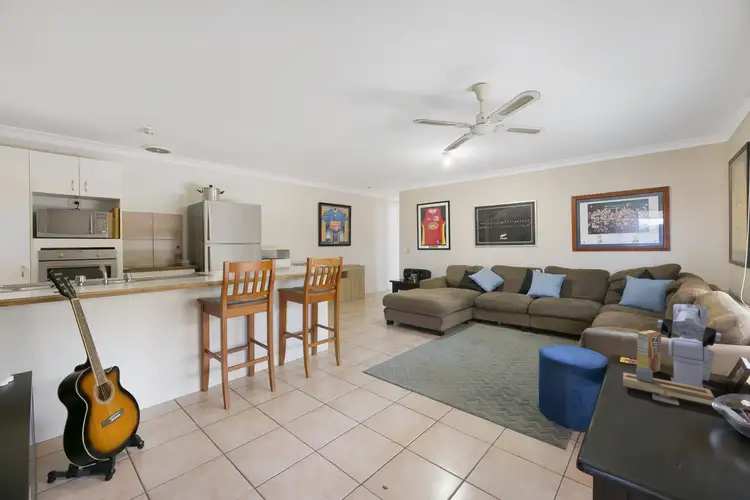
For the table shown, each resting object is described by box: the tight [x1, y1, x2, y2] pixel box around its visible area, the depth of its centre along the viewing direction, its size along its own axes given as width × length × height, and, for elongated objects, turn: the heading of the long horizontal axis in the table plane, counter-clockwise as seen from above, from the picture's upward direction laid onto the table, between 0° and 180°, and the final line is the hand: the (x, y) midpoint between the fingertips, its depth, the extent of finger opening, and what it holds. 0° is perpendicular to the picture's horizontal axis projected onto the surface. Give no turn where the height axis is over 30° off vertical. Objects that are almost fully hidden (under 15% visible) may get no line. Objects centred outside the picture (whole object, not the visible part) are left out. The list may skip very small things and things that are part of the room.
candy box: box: [636, 329, 662, 373], centre depth 125 cm, size 9×4×15 cm, turn 116°
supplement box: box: [702, 349, 716, 382], centre depth 119 cm, size 6×6×12 cm
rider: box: [635, 365, 654, 383], centre depth 106 cm, size 5×4×4 cm
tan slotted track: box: [622, 371, 715, 406], centre depth 102 cm, size 9×21×4 cm, turn 51°
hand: (686, 339), depth 97 cm, fingers open, 7 cm apart
